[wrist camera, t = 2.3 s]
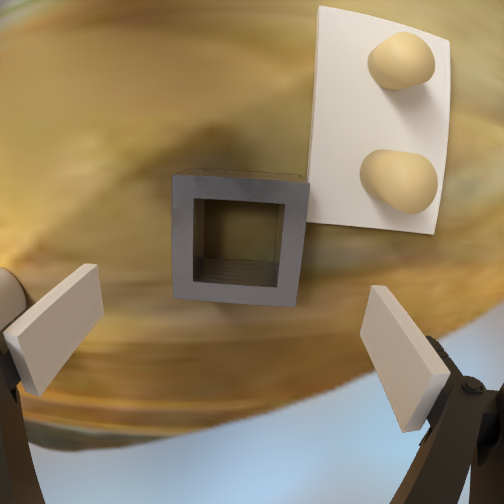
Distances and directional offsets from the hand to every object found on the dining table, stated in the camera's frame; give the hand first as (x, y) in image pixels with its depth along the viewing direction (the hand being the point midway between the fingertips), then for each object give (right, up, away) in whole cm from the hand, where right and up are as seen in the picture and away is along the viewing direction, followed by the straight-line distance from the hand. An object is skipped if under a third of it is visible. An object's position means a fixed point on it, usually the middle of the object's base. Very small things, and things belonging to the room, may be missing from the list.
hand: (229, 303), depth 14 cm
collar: (0, +5, +12) cm, 13 cm away
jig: (+12, +13, +9) cm, 20 cm away
